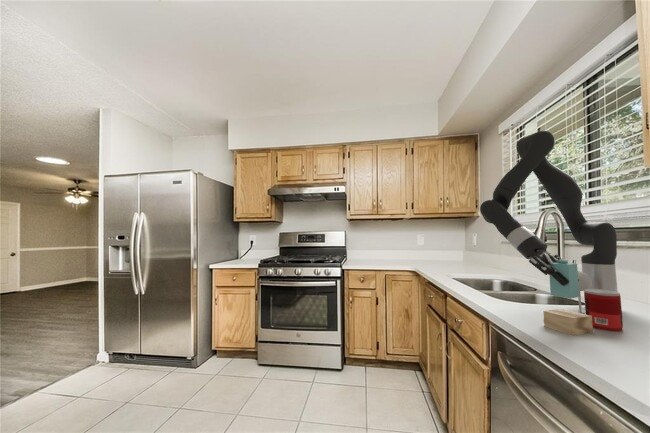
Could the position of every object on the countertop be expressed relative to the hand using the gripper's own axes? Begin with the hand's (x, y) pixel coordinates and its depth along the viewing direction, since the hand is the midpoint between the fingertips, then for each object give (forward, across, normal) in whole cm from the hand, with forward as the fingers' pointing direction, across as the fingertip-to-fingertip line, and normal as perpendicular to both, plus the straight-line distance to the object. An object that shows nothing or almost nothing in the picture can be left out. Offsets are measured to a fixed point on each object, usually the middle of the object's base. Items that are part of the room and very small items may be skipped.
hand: (571, 283), depth 82 cm
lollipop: (+4, +25, +16) cm, 30 cm away
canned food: (+12, +12, +8) cm, 19 cm away
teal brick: (+2, 0, +4) cm, 5 cm away
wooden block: (+9, 0, +11) cm, 15 cm away
